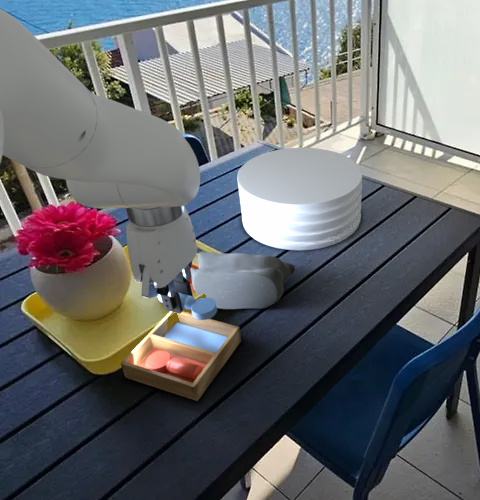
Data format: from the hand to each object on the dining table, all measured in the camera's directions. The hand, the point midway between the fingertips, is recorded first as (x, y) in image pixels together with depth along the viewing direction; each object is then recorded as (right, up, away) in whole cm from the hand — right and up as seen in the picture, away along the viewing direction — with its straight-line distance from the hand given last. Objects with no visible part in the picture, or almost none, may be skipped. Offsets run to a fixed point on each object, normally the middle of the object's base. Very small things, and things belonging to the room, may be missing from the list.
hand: (178, 304), depth 80 cm
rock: (+7, +1, +16) cm, 18 cm away
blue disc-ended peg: (+1, 0, 0) cm, 2 cm away
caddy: (0, -9, +2) cm, 9 cm away
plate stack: (+16, +17, +39) cm, 45 cm away
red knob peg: (0, -10, -1) cm, 10 cm away
